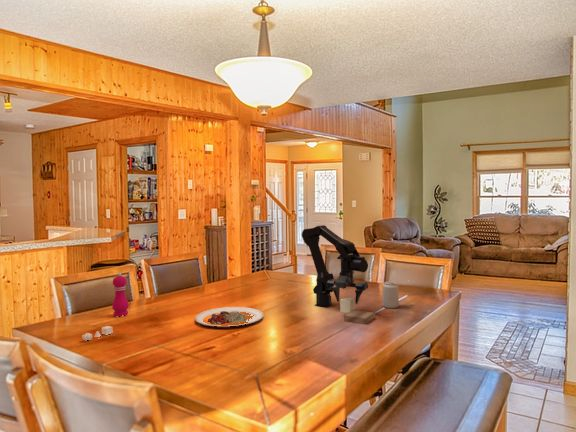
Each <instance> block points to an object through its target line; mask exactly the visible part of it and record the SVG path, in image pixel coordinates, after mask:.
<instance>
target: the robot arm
mask: <svg viewBox="0 0 576 432" xmlns="http://www.w3.org/2000/svg"><path fill="white" fill-rule="evenodd" d="M320 236H321V237H323V238H324V239H325V240H326V241H327V242H328V243H330V244H331V245H333V246H334V248H335V250H336V252H337V253H338V254H339V255H338V256H337V257H336V259H337V260H340V271H339V275H338V277H337V278H336V279H335V278H334V274H333V273H330V272H328V269H327V267H326V264H325V260H324V258H323V254H322V251H321V247H320V245H319V244H320ZM301 237H302V240H303V242H304V243H305V245H306V246H307V247H308V248H309V251H310V254H311V258H312V261H313V265H314V268H315V271H316V274H317V275H316V276H317V277H316V280H315V281H316V285H315V286H314V287H313V289H312V290H313V294H316V296H315V297H316V298H315V299H316V303H315V304H314V306H317V307H323V308H327V307H330V306H331V305H332V304H333V303H332V296H331V293H333V294H334V296H335V299H336V302H337V303H340V294H341V293H340V289H343V290H344V289H346V288H347V287H349V288H355V290H354V291H355V292H354V293H355V298H354V299H355V305H357V304H358V302H359V300H360V297H361V295H362V293H363V292H364V291H366V290H367V289H369V284H368V282H367V281H358V282H355V279H354V274H355V272H358V273H359V272H360V273H365V272H366V271H367V270H368V267H369V264H368V261H367V260H366V257H365V256H360V253H359V251H358V250H357V248H356V245H355V244H354V242H351V241H350V240H347V239H345V238H344V239H343V238H341V237H340V236H339V235H337V234H336V233H335V232H333V231H332V230H331V229H329V228H328V227H327V225H325V224H323V225H316V226H315V227H312V228H303V230H302V232H301Z"/></svg>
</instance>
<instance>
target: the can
mask: <svg viewBox="0 0 576 432" xmlns="http://www.w3.org/2000/svg"><path fill="white" fill-rule="evenodd" d="M399 289H400V287H399V285H398V282H396V281H392V280H391V281H388V280H387V281H384V282H383V285H382V306H383V307H384V308H386V309H397V308H398V307H399V306H400V303H399V302H400V301H399V298H400V297H399V294H400V292H399Z"/></svg>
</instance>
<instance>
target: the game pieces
mask: <svg viewBox="0 0 576 432" xmlns="http://www.w3.org/2000/svg"><path fill="white" fill-rule="evenodd" d="M113 328H114V327H113V326H110V325H105V326H102V327H101V333H100V331H98V330H97V331H96V332H95V334H94V337H100V336H101V337H102V334H105V335H108V334H111V333H113V334H114V331H113V330H114V329H113ZM111 335H112V334H111ZM108 336H109V335H108ZM81 337H82V340H83V341H84V340H85V341H84V342H86V341H87V340H89V341H90V340H92V339H93V338H94V337H93V333H90V332H86V333H85V334H82V336H81ZM87 342H88V341H87Z"/></svg>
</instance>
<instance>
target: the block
mask: <svg viewBox="0 0 576 432" xmlns="http://www.w3.org/2000/svg"><path fill="white" fill-rule="evenodd" d="M355 299H356V298H354V297H346V296H344V297H342V298H339V307H340V309H339V310H340V311H339V312H340V313H344V314H347V313H349V312H351V311H352V310H356V309H355V308H356V306H355V305H356V302H355Z"/></svg>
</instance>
